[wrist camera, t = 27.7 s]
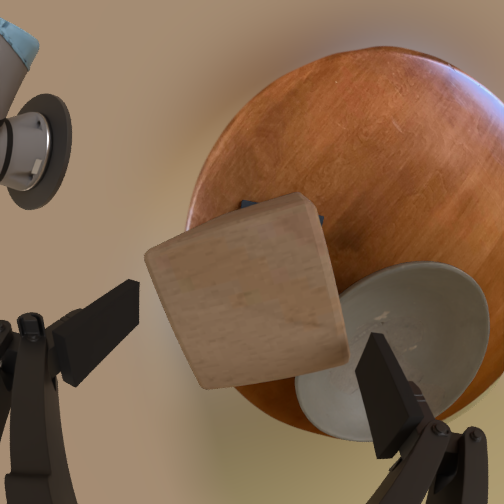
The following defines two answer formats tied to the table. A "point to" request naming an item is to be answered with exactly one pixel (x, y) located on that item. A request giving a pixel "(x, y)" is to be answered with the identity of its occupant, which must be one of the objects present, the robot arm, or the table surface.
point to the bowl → (403, 342)
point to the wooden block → (252, 294)
